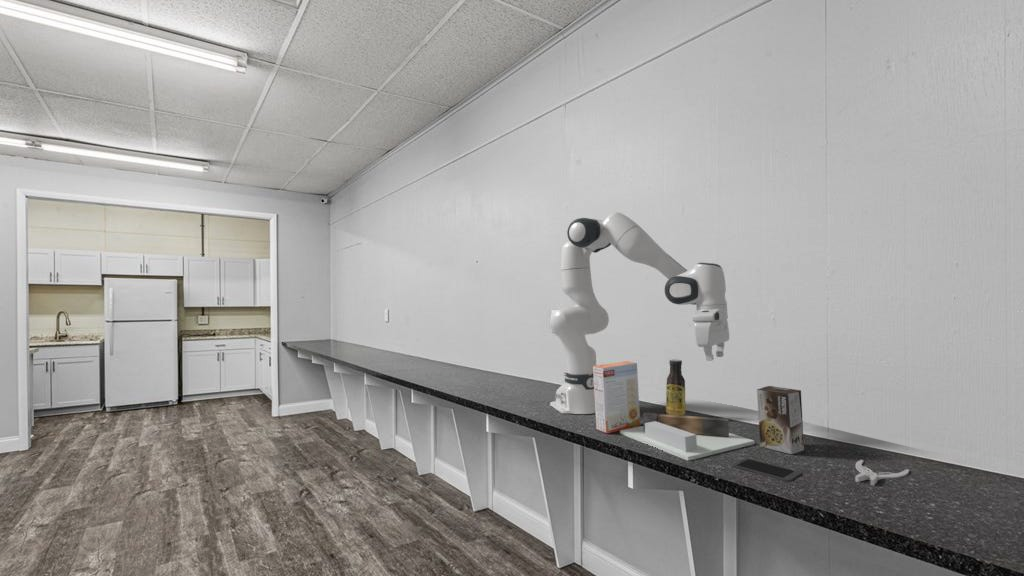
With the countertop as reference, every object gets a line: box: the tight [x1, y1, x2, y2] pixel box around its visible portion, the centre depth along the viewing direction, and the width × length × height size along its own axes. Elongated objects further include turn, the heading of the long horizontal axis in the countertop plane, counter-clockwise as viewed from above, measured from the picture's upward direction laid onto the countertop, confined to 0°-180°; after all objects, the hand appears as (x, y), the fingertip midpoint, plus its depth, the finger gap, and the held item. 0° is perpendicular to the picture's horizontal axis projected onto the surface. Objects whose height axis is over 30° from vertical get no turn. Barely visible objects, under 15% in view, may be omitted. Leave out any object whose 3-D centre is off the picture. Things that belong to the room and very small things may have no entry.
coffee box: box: [756, 385, 805, 455], centre depth 132 cm, size 9×6×16 cm
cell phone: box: [731, 457, 803, 483], centre depth 117 cm, size 7×14×1 cm, turn 37°
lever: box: [642, 412, 730, 437], centre depth 145 cm, size 24×4×4 cm, turn 65°
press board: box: [619, 421, 755, 462], centre depth 143 cm, size 28×25×5 cm
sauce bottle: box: [665, 359, 686, 416], centre depth 166 cm, size 6×6×20 cm
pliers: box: [854, 459, 910, 486], centre depth 112 cm, size 10×2×15 cm
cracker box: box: [593, 361, 641, 434], centre depth 156 cm, size 14×6×21 cm, turn 117°
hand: (715, 358), depth 150 cm, fingers open, 8 cm apart
